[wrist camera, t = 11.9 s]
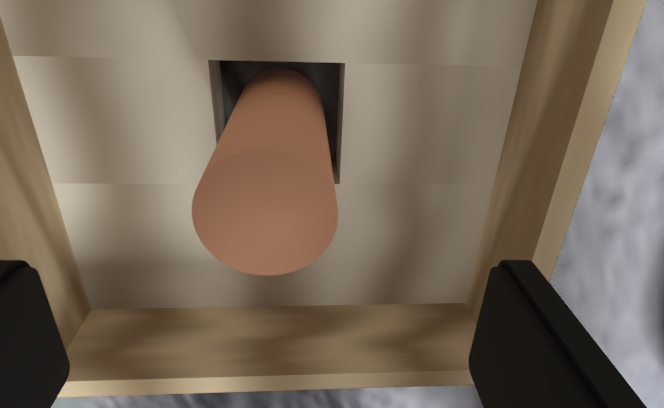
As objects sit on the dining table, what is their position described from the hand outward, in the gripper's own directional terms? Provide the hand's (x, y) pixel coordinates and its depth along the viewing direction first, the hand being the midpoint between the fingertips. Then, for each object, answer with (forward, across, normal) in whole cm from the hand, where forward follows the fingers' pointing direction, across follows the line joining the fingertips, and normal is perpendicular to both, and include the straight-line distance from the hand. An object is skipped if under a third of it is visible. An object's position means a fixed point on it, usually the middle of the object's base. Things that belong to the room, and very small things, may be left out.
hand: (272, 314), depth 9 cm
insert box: (+13, +1, -1) cm, 13 cm away
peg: (+13, +1, -1) cm, 13 cm away
